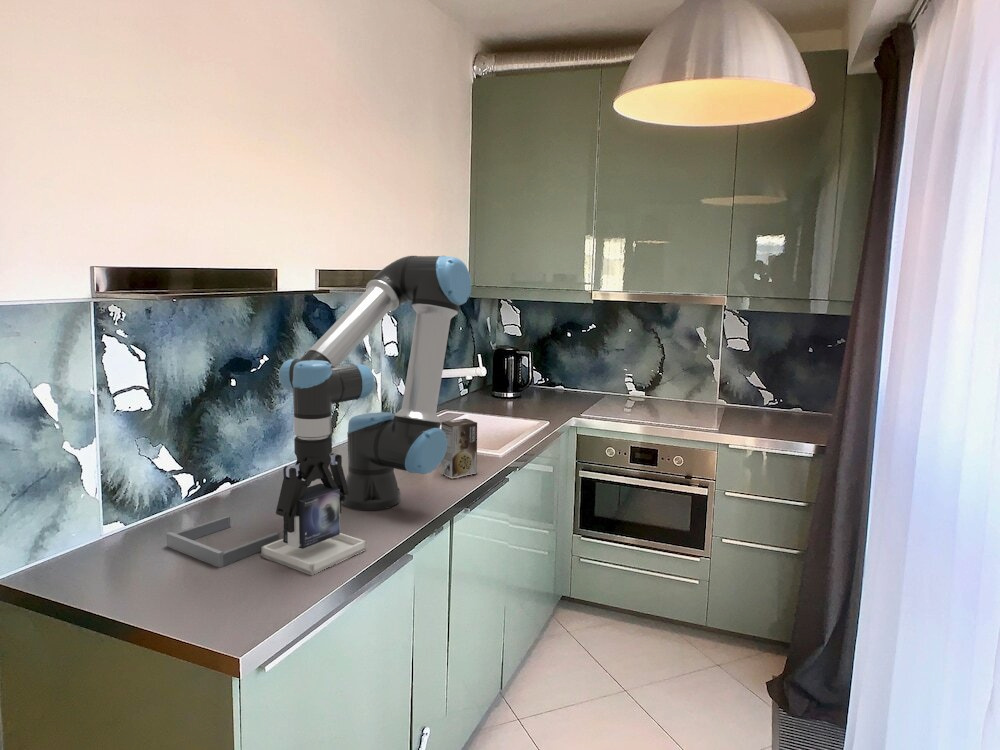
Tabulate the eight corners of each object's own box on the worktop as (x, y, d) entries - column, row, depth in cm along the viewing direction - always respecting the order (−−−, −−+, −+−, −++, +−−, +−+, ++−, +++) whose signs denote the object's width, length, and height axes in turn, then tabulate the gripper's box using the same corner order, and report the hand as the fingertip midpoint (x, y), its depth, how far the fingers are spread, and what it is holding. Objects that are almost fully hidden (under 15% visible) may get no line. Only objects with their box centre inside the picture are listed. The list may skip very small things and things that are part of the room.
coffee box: (465, 469, 213) (466, 417, 210) (477, 474, 208) (478, 421, 205) (439, 474, 207) (440, 421, 205) (451, 479, 202) (452, 425, 200)
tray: (317, 534, 158) (316, 525, 158) (366, 550, 150) (366, 541, 150) (261, 556, 146) (261, 546, 145) (312, 575, 138) (311, 565, 137)
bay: (227, 526, 162) (227, 513, 162) (279, 544, 153) (279, 531, 152) (166, 546, 150) (166, 533, 149) (219, 567, 140) (218, 553, 140)
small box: (303, 550, 142) (302, 501, 140) (281, 543, 145) (280, 494, 144) (341, 534, 151) (341, 487, 149) (320, 528, 154) (319, 482, 152)
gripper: (340, 423, 156) (341, 518, 159) (254, 443, 137) (257, 550, 140) (365, 428, 152) (366, 525, 155) (280, 449, 133) (282, 560, 136)
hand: (314, 537), depth 148 cm, fingers closed on small box, 10 cm apart
